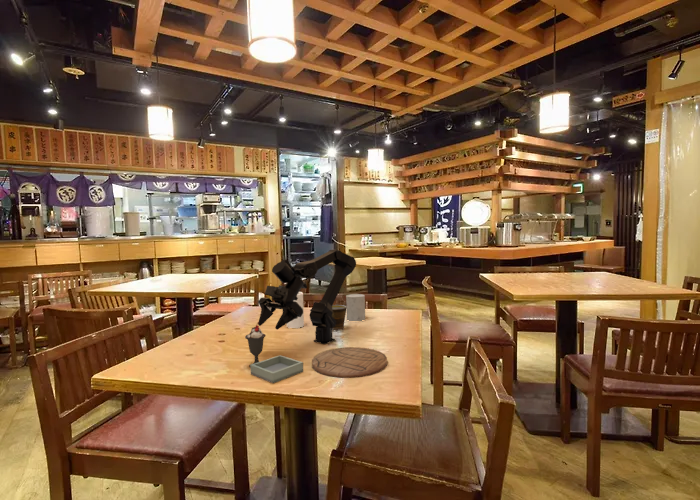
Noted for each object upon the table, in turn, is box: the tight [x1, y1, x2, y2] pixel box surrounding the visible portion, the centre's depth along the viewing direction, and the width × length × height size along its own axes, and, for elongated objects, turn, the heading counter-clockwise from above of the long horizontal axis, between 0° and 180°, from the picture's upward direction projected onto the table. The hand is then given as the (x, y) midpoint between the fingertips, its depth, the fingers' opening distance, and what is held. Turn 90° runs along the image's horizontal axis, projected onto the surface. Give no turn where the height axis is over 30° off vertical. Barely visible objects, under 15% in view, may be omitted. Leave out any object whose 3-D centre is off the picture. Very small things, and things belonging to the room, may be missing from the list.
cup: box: [286, 291, 305, 329], centre depth 172 cm, size 8×8×16 cm
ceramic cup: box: [332, 304, 347, 331], centre depth 165 cm, size 13×10×10 cm
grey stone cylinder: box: [345, 293, 366, 322], centre depth 182 cm, size 10×10×12 cm
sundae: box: [245, 321, 266, 368], centre depth 121 cm, size 7×7×15 cm
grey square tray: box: [249, 354, 304, 384], centre depth 114 cm, size 12×12×3 cm
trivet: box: [311, 346, 388, 379], centre depth 121 cm, size 25×25×2 cm
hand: (267, 326), depth 124 cm, fingers open, 9 cm apart
